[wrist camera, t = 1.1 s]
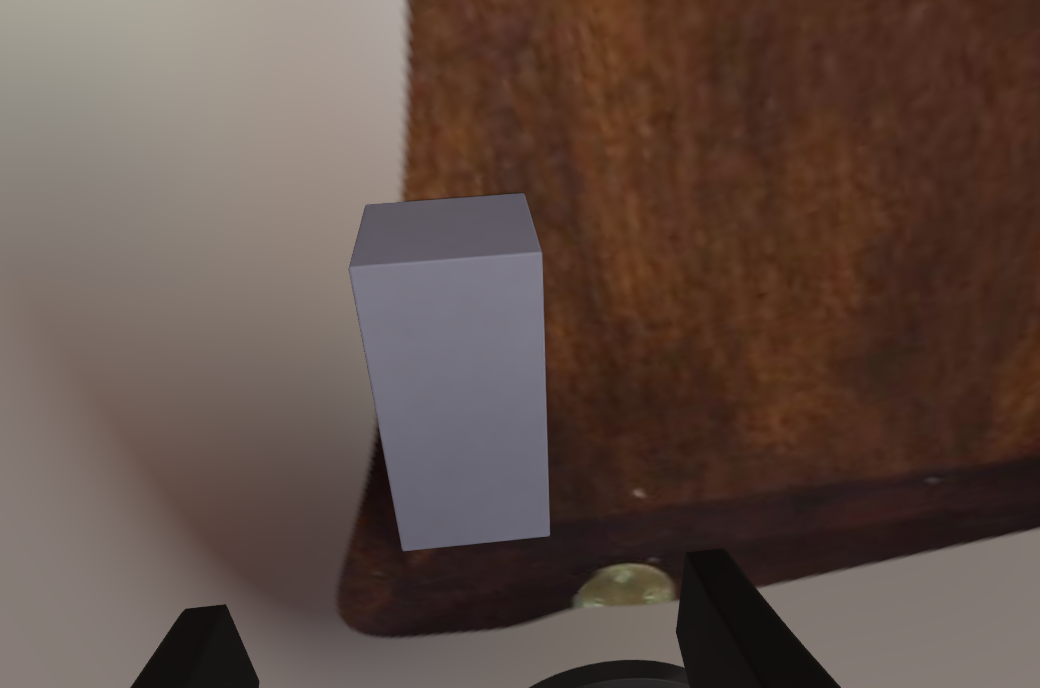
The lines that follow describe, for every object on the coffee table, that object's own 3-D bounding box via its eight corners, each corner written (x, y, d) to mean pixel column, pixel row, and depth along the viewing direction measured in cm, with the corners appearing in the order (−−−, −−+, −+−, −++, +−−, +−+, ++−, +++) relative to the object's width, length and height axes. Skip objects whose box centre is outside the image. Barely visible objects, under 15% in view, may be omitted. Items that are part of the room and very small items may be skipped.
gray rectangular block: (534, 448, 21) (550, 536, 18) (408, 461, 21) (402, 552, 18) (524, 192, 17) (542, 252, 14) (364, 204, 16) (348, 267, 13)
